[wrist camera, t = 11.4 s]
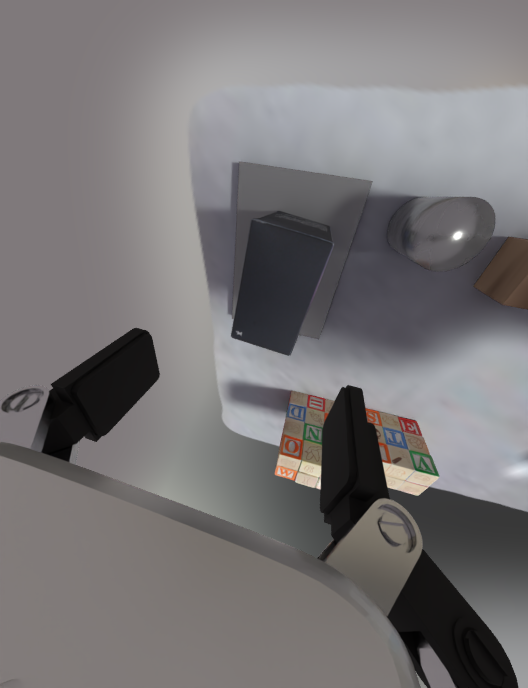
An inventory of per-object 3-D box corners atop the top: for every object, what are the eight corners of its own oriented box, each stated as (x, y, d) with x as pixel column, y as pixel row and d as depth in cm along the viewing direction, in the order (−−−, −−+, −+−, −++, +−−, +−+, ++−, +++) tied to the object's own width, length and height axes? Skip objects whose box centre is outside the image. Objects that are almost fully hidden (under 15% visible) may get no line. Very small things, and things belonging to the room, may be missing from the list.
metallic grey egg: (444, 186, 20) (500, 182, 14) (443, 242, 22) (491, 258, 16) (384, 210, 22) (412, 216, 16) (389, 260, 24) (415, 280, 18)
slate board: (370, 181, 21) (372, 181, 20) (319, 335, 31) (318, 339, 31) (242, 162, 22) (239, 161, 22) (234, 315, 33) (232, 318, 32)
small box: (301, 312, 29) (291, 360, 21) (255, 297, 29) (227, 339, 21) (334, 226, 23) (339, 244, 14) (275, 208, 23) (246, 216, 15)
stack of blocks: (417, 419, 36) (452, 504, 26) (400, 440, 40) (425, 521, 30) (290, 389, 39) (278, 455, 29) (285, 411, 43) (273, 476, 33)
